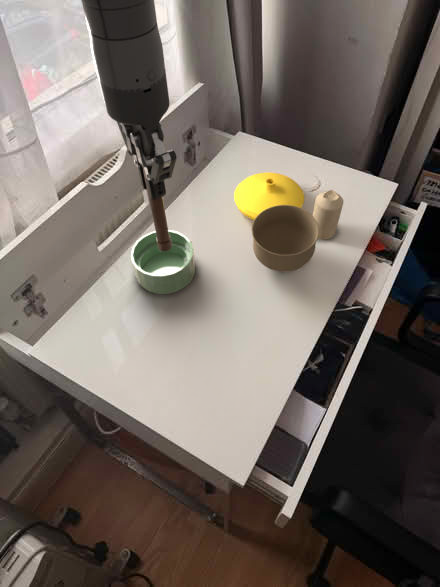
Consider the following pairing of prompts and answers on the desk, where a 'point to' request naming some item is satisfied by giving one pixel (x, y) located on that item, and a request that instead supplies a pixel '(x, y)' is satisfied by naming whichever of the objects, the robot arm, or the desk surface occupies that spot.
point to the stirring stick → (159, 221)
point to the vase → (266, 193)
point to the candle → (327, 213)
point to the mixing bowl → (163, 263)
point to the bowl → (284, 237)
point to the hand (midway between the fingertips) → (154, 191)
